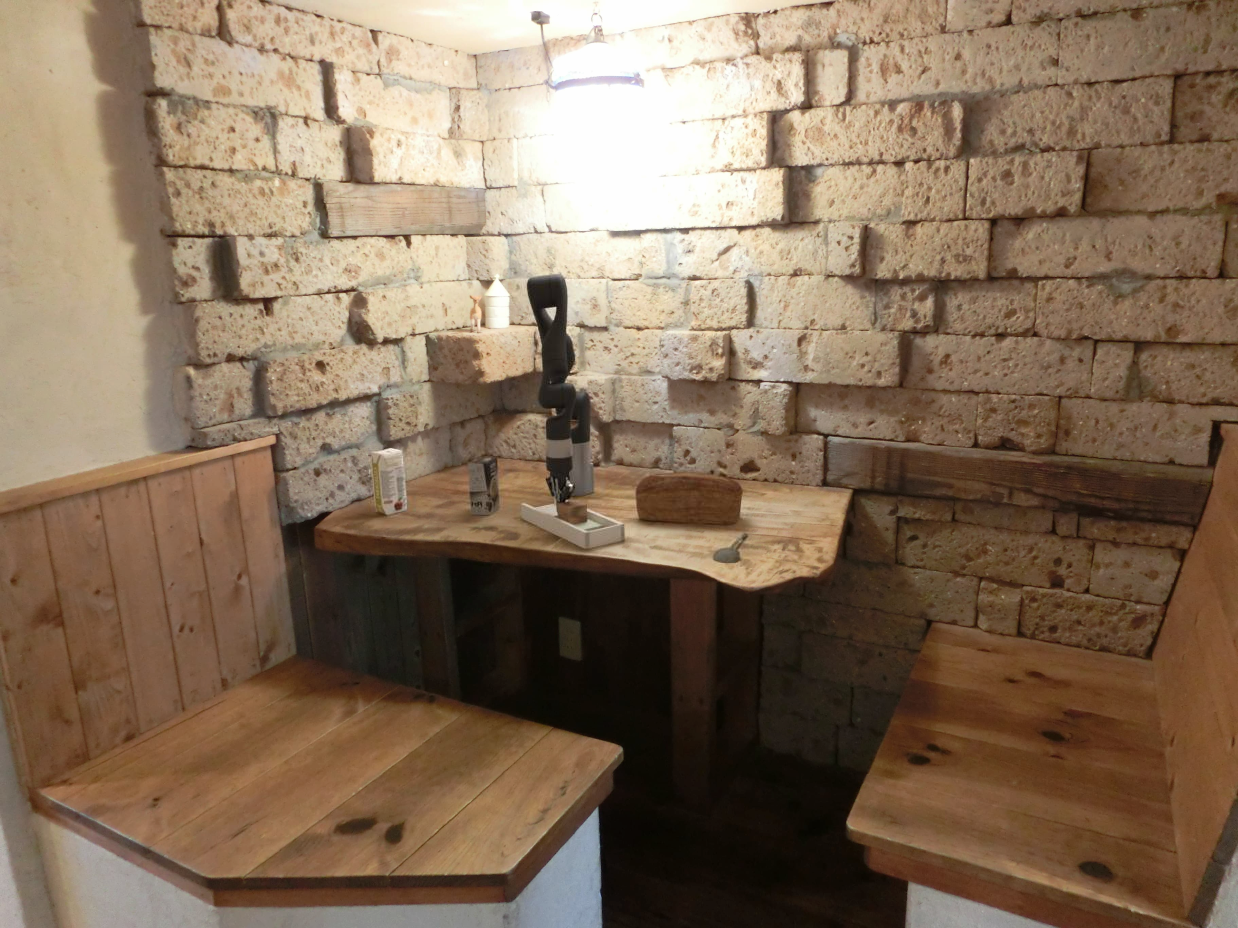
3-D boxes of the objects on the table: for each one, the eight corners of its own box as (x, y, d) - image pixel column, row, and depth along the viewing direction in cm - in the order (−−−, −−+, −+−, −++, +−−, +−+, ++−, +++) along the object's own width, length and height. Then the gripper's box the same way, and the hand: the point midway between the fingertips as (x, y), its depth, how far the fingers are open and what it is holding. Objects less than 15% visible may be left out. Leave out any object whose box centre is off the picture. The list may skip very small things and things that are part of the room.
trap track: (557, 510, 257) (557, 496, 256) (624, 539, 229) (624, 523, 228) (521, 518, 250) (521, 503, 249) (586, 549, 222) (585, 532, 221)
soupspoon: (709, 565, 211) (734, 570, 209) (709, 553, 211) (735, 557, 208) (733, 536, 231) (757, 540, 228) (734, 524, 230) (758, 528, 227)
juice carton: (410, 510, 261) (405, 450, 256) (386, 516, 255) (380, 455, 250) (396, 506, 266) (391, 446, 261) (372, 512, 260) (366, 451, 255)
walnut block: (576, 516, 242) (575, 499, 241) (587, 521, 237) (586, 504, 236) (557, 520, 239) (557, 503, 238) (568, 525, 234) (568, 508, 233)
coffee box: (490, 515, 254) (487, 463, 250) (470, 514, 255) (466, 462, 251) (500, 507, 262) (497, 456, 258) (481, 506, 263) (477, 455, 260)
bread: (740, 528, 237) (741, 481, 234) (632, 522, 244) (631, 477, 241) (744, 515, 249) (744, 471, 246) (641, 510, 256) (640, 467, 253)
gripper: (583, 456, 235) (584, 515, 239) (558, 447, 245) (560, 505, 250) (559, 460, 231) (561, 520, 235) (535, 451, 241) (538, 509, 246)
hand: (561, 512), depth 242 cm, fingers closed
